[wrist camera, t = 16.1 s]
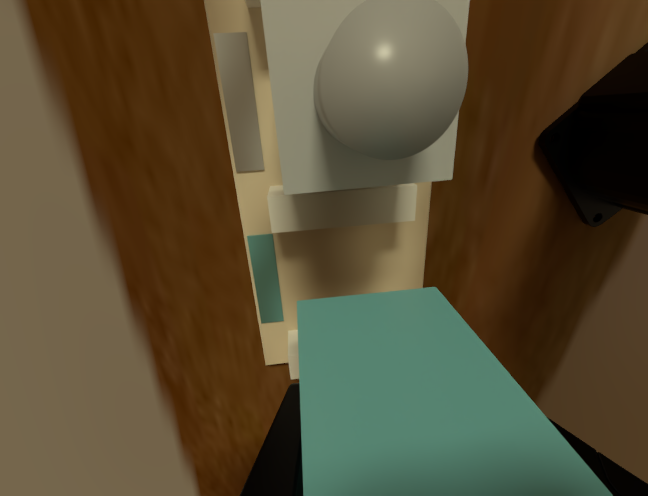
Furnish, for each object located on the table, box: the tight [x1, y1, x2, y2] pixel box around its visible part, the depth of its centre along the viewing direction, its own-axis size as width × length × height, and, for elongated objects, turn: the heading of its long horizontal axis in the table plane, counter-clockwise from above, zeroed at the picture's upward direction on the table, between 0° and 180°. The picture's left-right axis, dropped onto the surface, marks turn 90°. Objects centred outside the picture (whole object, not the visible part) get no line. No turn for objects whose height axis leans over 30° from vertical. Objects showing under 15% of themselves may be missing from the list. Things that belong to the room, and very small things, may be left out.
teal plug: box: [297, 287, 613, 496], centre depth 7 cm, size 4×4×8 cm
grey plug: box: [260, 0, 470, 195], centre depth 9 cm, size 4×4×8 cm
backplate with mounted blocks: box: [204, 0, 432, 379], centre depth 14 cm, size 9×19×3 cm, turn 3°
